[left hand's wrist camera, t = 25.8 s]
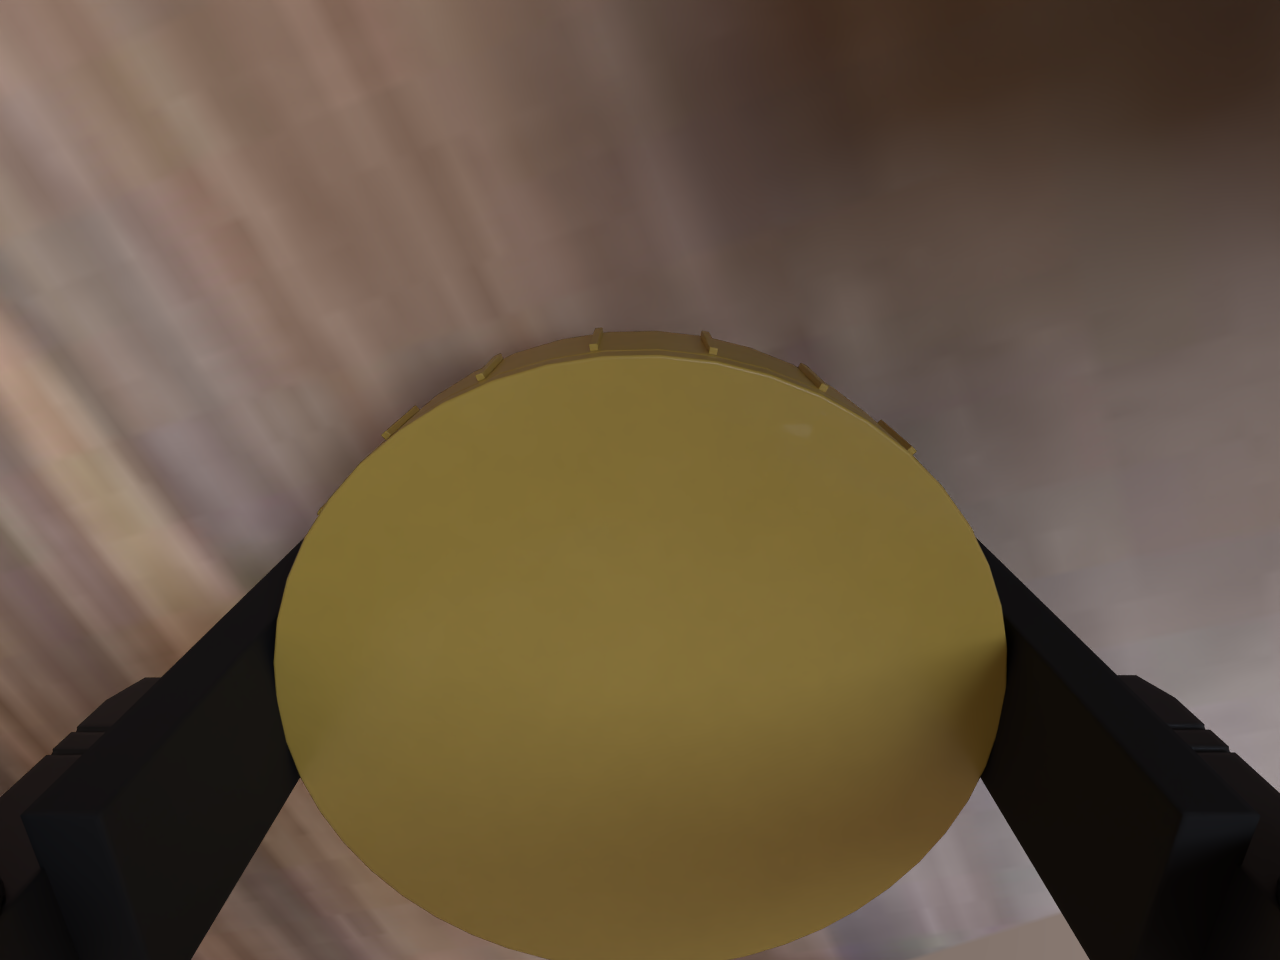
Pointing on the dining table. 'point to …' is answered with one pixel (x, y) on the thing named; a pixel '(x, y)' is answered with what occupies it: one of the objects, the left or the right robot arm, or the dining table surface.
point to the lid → (640, 653)
